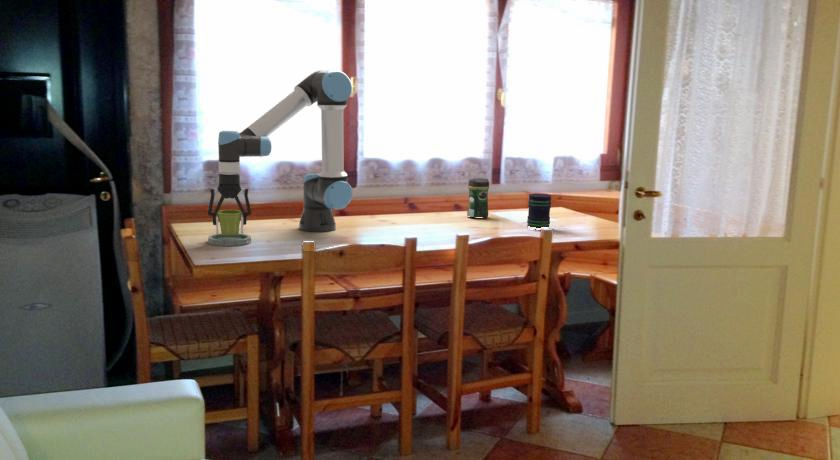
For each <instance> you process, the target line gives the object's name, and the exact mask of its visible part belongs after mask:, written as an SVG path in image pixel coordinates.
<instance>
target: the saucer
mask: <svg viewBox="0 0 840 460" xmlns="http://www.w3.org/2000/svg"><path fill="white" fill-rule="evenodd" d="M251 237H252V236H251V235H250V234H249V235H248V234H246V233H243V234H241V232H240V233H238V235H234V236H232V235H228V236H225V235H222V233H218V234H216V233H214V234H211V235H208V237H207V238H208V239H207V242H208V243H207V244H209V245H212V246H217V247H238V246H239V247H241V246H245V245H249V244H251V242H252V238H251Z"/></svg>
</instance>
